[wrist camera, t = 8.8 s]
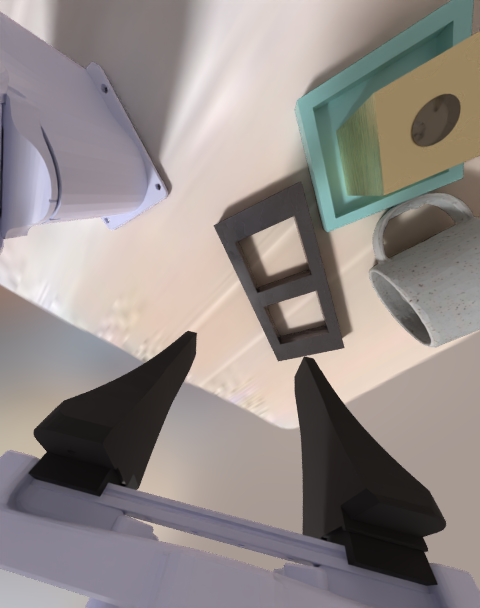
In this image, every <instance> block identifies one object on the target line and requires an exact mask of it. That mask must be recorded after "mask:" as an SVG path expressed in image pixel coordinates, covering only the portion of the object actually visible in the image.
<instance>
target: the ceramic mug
mask: <svg viewBox="0 0 480 608" xmlns="http://www.w3.org/2000/svg"><path fill="white" fill-rule="evenodd" d="M423 204H430V205H435V206H438V207H440V208H441V209H442V210H444V211H446V213H447V214H448V215H450V216H451V218H452V219H453V220H454V222H455V226H452V227H450V228H448V229H446V230H444V231H442V232H440V233H438V234H437V235H435V236H433V237H431V238H429V239H428V240H426V241H424V242H422V243H419V244H418V245H415V246H413V247H411V248H409V249H407V250H405V251H403V252H401V253H399V254H396V255H394V256H392V257H391V258H388V257H387V256H386V254H385V249H384V245H383V233H384V231H385V227H386V226H387V223H388V220H389V219H391V218H393V217H395V216H397V215H399V214H401V213H403V212H405V211H408V210H410V209H417V208H419V207H420V206H422V205H423ZM373 249H374V253H375V257H376V259H377V261H378V264H377V265H375V266H374V267H372V268H371V269H370V270H369V278H370V281H371V283H372V285H373V288H374V290H375V291H376V293H377V295H378V297H379V298H380V300H381V301H382V303H383V304H384V305H385V307H386V308H387V310H388V311H389V312H390V313H391V315H392V316H393V317H394V318H395V319H396V320H397V321H398V323H399V324H400V325H401V326H402V327H403V328H404V329H405V330H406V331H407V332H408V333H409V334H411V335H412V336H413V337H414V338H415V339H416V340H418V341H419V342H420V343H422V344H423V345H426V346H428V347H438V346H440V345H443V344H445V343H447V342H450V341H452V340H455V339H457V338H460V337H462V336H465V335H468V334H470V333H473V332H475V331H478V330H480V217H474V216H473V214H472V211H471V210H470V209H469V207H468V206H467V205H466V204H465V203H464V202H463V201H462V200H460V199H458V198H456V197H454V196H452V195H450V194H447V193H425V194H422V195H420V196H417V197H415V198H412V199H410V200H407V201H405V202H402V203H400V204H397V205H396V206H394V207H393V208H392V209H390V210H389V211H388V212H387V213H386V214H385V215H384V216H383V217H382V218H381V219H380V220H379V222H378V223H377V225H376V227H375V230H374V233H373Z"/></svg>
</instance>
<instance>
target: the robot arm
mask: <svg viewBox="0 0 480 608" xmlns="http://www.w3.org/2000/svg"><path fill="white" fill-rule="evenodd" d="M106 87H107V89H108V92H107V93H105V88H106ZM158 184H160V186H161V189H160V190H159V189H158ZM167 197H168V191H167V189H166V187H165V185H164V183H163V181H162V179H161V177H160V176H159V174H158V172H157V170H156V168H155V166H154V164H153V162H152V161H151V159H150V157H149V155H148V153H147V151H146V149H145V147H144V146H143V144H142V142H141V140H140V138H139V136H138V134H137V133H136V131H135V129H134V127H133V125H132V123H131V121H130V119H129V118H128V116H127V114H126V112H125V110H124V108H123V106H122V105H121V103H120V101H119V99H118V97H117V95H116V93H115V91H114V90H113V88H112V86H111V84H110V82H109V80H108V78H107V77H106V75H105V73H104V71H103V69H102V68H101V67H100V66H99V65H98V64H96V63H95V62H92V63H90V64H89V65H88V66H87V68H86V69H84V68H83V67H81V66H80V65H78V64H77V63H76V62H74V61H73V60H71V59H70V58H68V57H67V56H65V55H64V54H62V53H61V52H59V51H58V50H56V49H55V48H53V47H52V46H50V45H49V44H48V43H46V42H45V41H43V40H42V39H40V38H39V37H37V36H36V35H34V34H33V33H31V32H30V31H28V30H27V29H25V28H24V27H22V26H21V25H20V24H18V23H17V22H15V21H14V20H12V19H11V18H9V17H8V16H6V15H5V14H3V13H2V12H0V254H1V253H2V251H3V247H4V242H3V239H8V238H14V237H20V236H26V235H27V233H28V230H29V229H30V228H31V227H32V226H35V225H41V224H49V223H57V222H65V221H73V220H81V219H89V218H98V217H101V219H102V220H103V221H104V223H105V224H106V226H107V227H108V228H109V229H110V230H115V229H117V228H119V227H120V226H122V225H124V224H125V223H127V222H128V221H130V220H132V219H133V218H135V217H137V216H138V215H140V214H141V213H143V212H145V211H146V210H148V209H149V208H151V207H153V206H154V205H156V204H157V203H159V202H161V201H162V200H164V199H166V198H167ZM107 218H108V219H109V221H108V220H107ZM196 337H197V333H195V332H191V331H187V332H185V333H184V334H183V335H182V336H181V337H180V338H178V339H177V340H176V341H175V342H174V343H172V344H171V345H170V346H168V347H167V348H166V349H165V350H163V351H162V352H160V353H159V354H158V355H156V356H155V357H153V358H152V359H150V360H149V361H147V362H146V363H144V364H143V365H141V366H139V367H138V368H136V369H134V370H132V371H131V372H129V373H127V374H125V375H123V376H121V377H120V378H117V379H115V380H113V381H111V382H109V383H107V384H105V385H102V386H100V387H98V388H96V389H93V390H91V391H89V392H86V393H83V394H80V395H78V396H75V397H73V398H70V399H67V400H64V401H63V402H62V403H61V404H60V405H59V406H58V407H57V408H55V409H54V411H52V412H51V413H50V415H48V416H47V417H46V418H45V419H44V420H43V422H41V423H40V424H39V425H38V426H37V428H35V429H34V437H35V438H36V440H37V441H38V442H39V443H40V444H41V445H42V446H43V448H44V449H45V450H46V451H47V453H46V454H45V455H44V456H43V457H42V458H41V459H39V458H37V457H34V456H32V455H28V454H24V453H20V452H17V451H13V450H9V451H7V452H6V453H5V454H4V455H3V456H1V457H0V569H3V570H6V571H10V572H13V573H16V574H19V575H22V576H25V577H28V578H31V579H34V580H38V581H41V582H44V583H47V584H50V585H53V586H56V587H59V588H63V589H66V590H69V591H72V592H75V593H79V594H81V595H85V596H88V597H90V598H89V601H88V603H87V605H86V607H85V608H480V591H479V589H478V587H477V585H476V583H475V581H474V580H473V577H472V576H471V574H470V573H468V572H467V571H463V570H460V569H456V568H452V567H449V566H445V565H441V564H435V563H429V562H428V560H427V558H426V555H425V553H424V552H427V551H428V548H427V545H426V543H425V541H424V539H423V537H424V536H427V535H430V534H434V533H437V532H439V531H442V530H443V529H444V528H445V527H446V521H445V519H444V517H443V516H442V513H441V512H440V510H439V508H438V506H437V504H436V502H435V501H434V498H433V497H432V495H431V493H430V491H429V490H428V489H427V488H425V487H424V486H423V485H422V484H421V483H420V482H419V481H417V480H416V479H415V478H414V477H413V476H412V475H411V474H410V473H409V472H407V471H406V470H405V469H404V468H403V467H402V466H401V465H400V464H399V463H397V461H396V460H395V459H393V458H392V457H391V456H390V455H389V454H388V453H387V452H386V451H385V450H384V449H383V448H382V447H381V446H380V445H379V444H378V443H377V442H376V441H375V440H374V439H373V437H371V435H370V434H369V433H368V432H367V431H366V430H365V429H364V428H363V427H362V425H361V424H360V423H359V422H358V421H357V420H356V418H355V417H354V416H353V415H352V414H351V412H350V411H349V410H348V409H347V407H346V406H345V405H344V403H343V402H342V401H341V399H340V398H339V397H338V395H337V394H336V392H335V391H334V390H333V388H332V387H331V385H330V384H329V382H328V381H327V379H326V378H325V376H324V374H323V373H322V371H321V370H320V368H319V366H318V365H317V363H316V362H315V360H314V359H313V358H309V357H304V358H303V360H302V362H301V364H300V366H299V368H298V371H297V373H296V375H295V397H296V404H297V411H298V418H299V425H300V432H301V445H302V469H303V535H302V534H298V533H294V532H290V531H287V530H283V529H279V528H275V527H272V526H268V525H264V524H261V523H257V522H253V521H249V520H246V519H242V518H238V517H234V516H231V515H226V514H223V513H219V512H216V511H212V510H208V509H205V508H201V507H197V506H194V505H190V504H186V503H182V502H179V501H175V500H171V499H167V498H163V497H160V496H156V495H152V494H149V493H145V492H141V491H137V489H138V488H139V486H140V483H141V480H142V478H143V475H144V472H145V469H146V467H147V464H148V461H149V459H150V456H151V453H152V451H153V448H154V446H155V443H156V441H157V438H158V436H159V433H160V431H161V428H162V425H163V423H164V421H165V418H166V416H167V414H168V411H169V409H170V407H171V404H172V402H173V400H174V398H175V396H176V394H177V393H178V391H179V389H180V387H181V385H182V383H183V381H184V380H185V378H186V376H187V374H188V372H189V370H190V368H191V366H192V363H193V361H194V358H195V355H196ZM125 515H126V516H125ZM128 516H129V517H128ZM131 517H133V518H137V519H140V520H144V521H148V522H151V523H155V524H158V525H162V526H166V527H169V528H173V529H176V530H180V531H184V532H187V533H191V534H194V535H198V536H202V537H205V538H209V539H213V540H216V541H220V542H223V543H227V544H231V545H235V546H238V547H242V548H245V549H249V550H252V551H256V552H260V553H263V554H267V555H271V556H274V557H278V558H281V559H285V560H289V561H293V562H296V563H299V564H303V565H299V564H291V563H285V565H284V568H282V569H274V571H273V572H271V571H268V570H266V569H263V568H260V567H256V566H254V565H250V564H247V563H244V562H241V561H238V560H234V559H231V558H227V557H223V556H220V555H217V554H213V553H209V552H205V551H200V550H197V549H193V548H188V547H184V546H180V545H175V544H171V543H166V542H161V541H158V537H157V536H156V535H154V534H153V527H152V526H150V525H147V524H145V523H143V522H140V521H138V520H136V519H133V518H131ZM306 565H307V566H306Z"/></svg>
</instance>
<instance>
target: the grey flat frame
mask: <svg viewBox="0 0 480 608" xmlns="http://www.w3.org/2000/svg"><path fill="white" fill-rule="evenodd" d="M293 216H294V220H295V223H296V226H297V230H298V233H299V237H300V240H301V243H302V247H303V250H304V253H305V257H306V260H307V264H308V267H309V270H307V271H304V272H301V273H298V274H295V275H292V276H290V277H287V278H284V279H281V280H278V281H275V282H272V283H269V284H266V285H264V286H261V287H258V286H257V283H256V281H255V279H254V277H253V274H252V272H251V270H250V267H249V265H248V263H247V261H246V258H245V256H244V254H243V251H242V249H241V247H240V245H239V242H238V241H239V240H242V239H244V238H246V237H248V236H250V235H253V234H255V233H257V232H259V231H262V230H264V229H266V228H268V227H270V226H273V225H275V224H277V223H279V222H282V221H284V220H286V219H288V218H290V217H293ZM214 227H215V229H216V231H217V233H218V236H219V238H220V240H221V242H222V244H223V246H224V248H225V250H226V252H227V254H228V257H229V259H230V261H231V263H232V265H233V267H234V269H235V271H236V273H237V276H238V278H239V280H240V282H241V284H242V286H243V288H244V290H245V292H246V294H247V297H248V299H249V301H250V303H251V305H252V307H253V309H254V311H255V313H256V315H257V318H258V320H259V322H260V324H261V326H262V328H263V330H264V332H265V334H266V336H267V339H268V341H269V343H270V345H271V347H272V349H273V351H274V353H275V355H276V357H277V360H278V361H282V360H287V359H292V358H297V357H302V356H307V355H312V354H317V353H322V352H327V351H332V350H337V349H342V348H344V344H343V340H342V337H341V333H340V329H339V325H338V321H337V317H336V314H335V310H334V306H333V302H332V298H331V294H330V291H329V287H328V283H327V279H326V275H325V271H324V268H323V264H322V260H321V256H320V252H319V248H318V245H317V241H316V237H315V233H314V229H313V225H312V222H311V218H310V214H309V210H308V206H307V202H306V199H305V195H304V191H303V187H302V183H301V182H299V183H297V184H295V185H293V186H291V187H289V188H287V189H285V190H283V191H281V192H279V193H277V194H275V195H273V196H271V197H269V198H267V199H265V200H263V201H261V202H259V203H257V204H255V205H253V206H251V207H249V208H247V209H245V210H243V211H241V212H239V213H237V214H235V215H233V216H231V217H229V218H227V219H225V220H223V221H221V222H220V223H218V224H216V225H214ZM313 291H316V294H317V297H318V301H319V304H320V307H321V311H322V314H323V318H324V321H325V324H326V325H325V326H321V327H317V328H313V329H309V330H305V331H301V332H297V333H293V334H289V335H285V336H281V337H280V336H279V334H278V331H277V329H276V327H275V325H274V322H273V320H272V318H271V315H270V313H269V311H268V309H267V306H268V305H271V304H275V303H278V302H281V301H284V300H287V299H291V298H294V297H297V296H300V295H304V294H307V293H310V292H313Z"/></svg>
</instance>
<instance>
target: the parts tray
mask: <svg viewBox="0 0 480 608" xmlns="http://www.w3.org/2000/svg"><path fill="white" fill-rule="evenodd" d="M473 1H474V0H451V1H449V2H448V3H446V4H445V5H443V6H442V7H440V8H439V9H437V10H435V11H434V12H432V13H431V14H429V15H428V16H426V17H425V18H423V19H422V20H420V21H419V22H417V23H415V24H414V25H412V26H411V27H409V28H408V29H406V30H405V31H403V32H402V33H400V34H399V35H397V36H395V37H394V38H392V39H391V40H389V41H388V42H386V43H385V44H383V45H382V46H380V47H379V48H377V49H375V50H374V51H372V52H371V53H369V54H368V55H366V56H365V57H363V58H362V59H360V60H358V61H357V62H355V63H354V64H352V65H351V66H349V67H348V68H346V69H345V70H343V71H342V72H340V73H338V74H337V75H335V76H334V77H332V78H331V79H329V80H328V81H326V82H325V83H323V84H322V85H320V86H318V87H317V88H315V89H314V90H312V91H311V92H309V93H308V94H306V95H305V96H303V97H301V98H300V99H298V100H297V103H296V107H295V113H296V117H297V121H298V126H299V130H300V134H301V138H302V142H303V146H304V151H305V155H306V159H307V163H308V167H309V171H310V176H311V180H312V184H313V188H314V192H315V197H316V201H317V205H318V209H319V213H320V217H321V222H322V226H323V229H324V230H325V231H327V232H329V231H332V230H334V229H337V228H339V227H342V226H344V225H347V224H349V223H352V222H354V221H357V220H359V219H362V218H364V217H367V216H369V215H372V214H375V213H377V212H380V211H382V210H385V209H387V208H390V207H392V206H395V205H397V204H400V203H402V202H405V201H407V200H410V199H412V198H415V197H417V196H420V195H422V194H425V193H427V192H430V191H432V190H435V189H437V188H440V187H442V186H445V185H447V184H450V183H452V182H455V181H457V180H460V179H462V178H463V168H464V162H463V163H461V164H458V165H456V166H454V167H451V168H449V169H446V170H444V171H442V172H439V173H437V174H435V175H432V176H430V177H427V178H425V179H423V180H420V181H418V182H416V183H413V184H411V185H408V186H406V187H404V188H401V189H399V190H396V191H394V192H392V193H389V194H387V195H385V196H347V191H346V186H345V180H344V174H343V168H342V163H341V157H340V151H339V145H338V140H337V134H336V131H337V130H338V129H339V128H340V127H341V126H342V125H343V124H344V123H345V122H346V121H347V120H348V119H349V118H350V117H351V116H352V115H353V114H354V113H355V112H356V111H357V110H358V109H359V108H360V107H361V106H362V105H363V104H364V103H365V102H366V101H367V100H368V98H369V97H370V96H371V95H372V94H373V93H375V92H376V91H378V90H380V89H381V88H383V87H385V86H387V85H388V84H390V83H392V82H393V81H395V80H397V79H399V78H400V77H402V76H404V75H405V74H407V73H409V72H411V71H412V70H414V69H416V68H417V67H419V66H421V65H422V64H424V63H426V62H428V61H429V60H431V59H433V58H434V57H436V56H438V55H440V54H441V53H443V52H445V51H446V50H448V49H450V48H452V47H453V46H455V45H457V44H458V43H460V42H462V41H464V40H465V39H467V38H469V37H470V36H471V34H472V17H473Z"/></svg>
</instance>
